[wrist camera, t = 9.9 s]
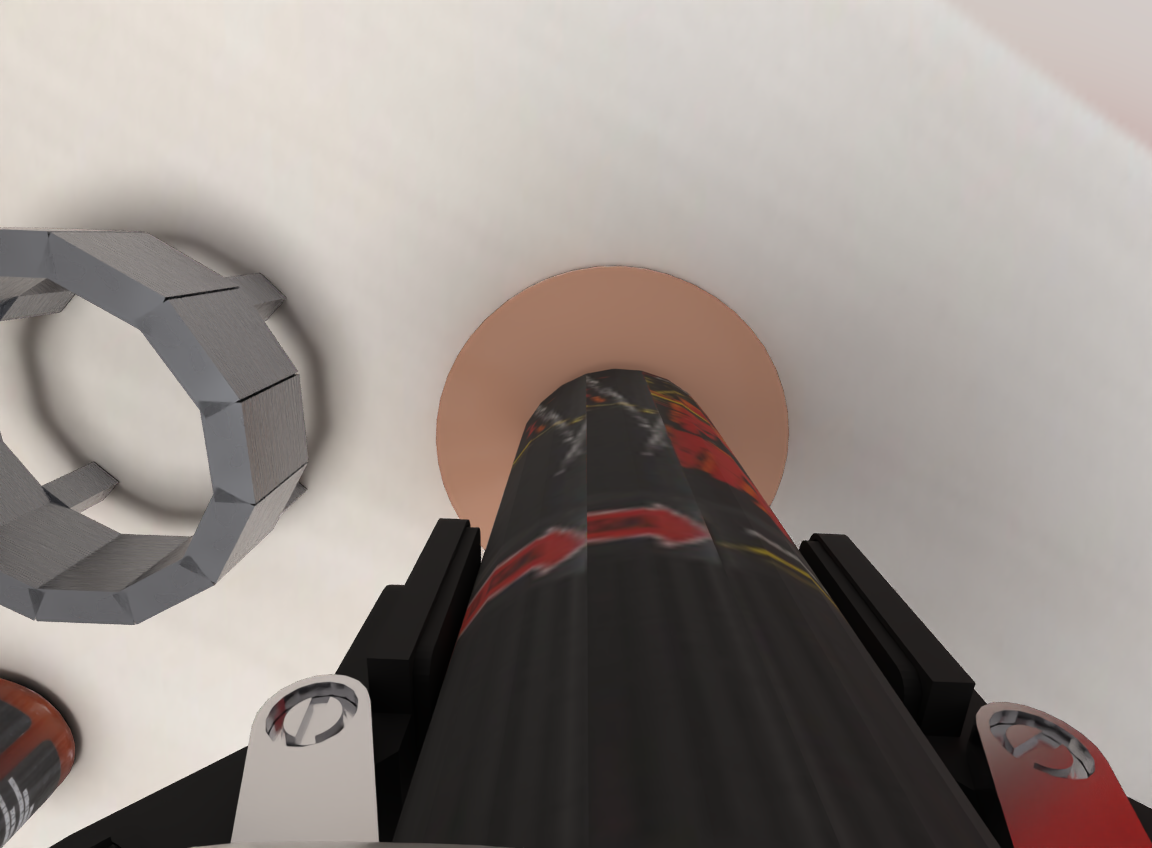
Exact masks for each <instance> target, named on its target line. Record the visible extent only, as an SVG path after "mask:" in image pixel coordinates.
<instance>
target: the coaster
mask: <svg viewBox="0 0 1152 848" xmlns="http://www.w3.org/2000/svg"><path fill="white" fill-rule="evenodd" d="M609 369H627V370H640V371H644V372H647V373H650V374H653V375H656V376H659V377H662V378H665V379H668V380H669V381H671V382H672V383H674V384H675V385H677V386H678V387H680V388H681V389H682V390H684V391H685V392H687V393H688V394H690V395H691V397H692V398H693V399H694V400H695V401H696V402H697V404H698V405H699V406H700V407H701V408H702V410H703V411H704V412H705V413H706V414H707V416H708V417H709V419H710V420H711V422H712V423H713V425H714V426H715V428H716V429H717V431H718V432H719V434H720V435H721V436H722V438H723V439H724V441H725V442H726V444H727V445H728V447H729V448H730V450H731V451H732V453H733V454H734V456H735V457H736V459H737V460H738V461H739V463H740V464H741V466H742V467H743V469H744V470H745V472H746V473H747V475H748V476H749V478H750V479H751V481H752V482H753V484H754V485H755V486H756V488H757V489H758V491H759V492H760V494H761V495H762V497H763V498H764V500H765V501H766V503H767V504H768V506H769V507H770V505H771V503H772V501H773V499H774V497H775V495H776V492H777V489H778V487H779V484H780V481H781V479H782V475H783V471H784V467H785V462H786V458H787V450H788V438H789V427H788V411H787V406H786V401H785V396H784V391H783V388H782V385H781V382H780V379H779V376H778V373H777V371H776V368H775V366H774V364H773V362H772V360H771V358H770V357H769V355H768V353H767V351H766V349H765V347H764V346H763V345H762V343H761V342H760V340H759V339H758V338H757V336H756V335H755V334H754V332H753V331H752V329H751V328H750V327H749V326H748V325H747V324H746V323H745V322H744V321H743V320H742V319H741V318H740V317H739V316H738V315H737V314H736V313H735V312H734V311H733V310H731V309H730V308H729V307H728V306H726V305H725V304H724V303H722V302H721V301H720V300H719V299H717V298H716V297H714V296H713V295H711V294H709V293H707V292H706V291H704V290H702V289H700V288H699V287H697V286H695V285H693V284H691V283H689V282H686V281H684V280H681V279H679V278H676V277H674V276H671V275H669V274H665V273H661V272H657V271H653V270H649V269H645V268H636V267H627V266H597V267H590V268H584V269H578V270H572V271H569V272H566V273H563V274H559V275H556V276H553V277H550V278H547V279H545V280H543V281H541V282H539V283H537V284H534V285H532V286H530V287H528V288H526V289H525V290H523V291H522V292H520V293H519V294H517V295H515V296H514V297H512V298H511V299H509V300H508V301H507V302H505V303H504V304H503V305H502V306H501V307H499V308H498V309H497V310H496V311H495V312H494V313H492V314H491V315H490V316H489V317H488V318H487V319H486V320H485V321H484V322H483V323H482V324H481V325H480V326H479V328H478V329H477V330H476V331H475V332H474V333H473V334H472V335H471V336H470V338H469V339H468V341H467V342H466V344H465V345H464V347H463V348H462V350H461V351H460V353H459V354H458V356H457V358H456V360H455V362H454V364H453V366H452V368H451V370H450V372H449V374H448V376H447V380H446V383H445V386H444V389H443V392H442V395H441V398H440V404H439V410H438V416H437V428H436V446H437V455H438V464H439V468H440V472H441V476H442V480H443V484H444V487H445V489H446V492H447V494H448V497H449V499H450V502H451V504H452V506H453V508H454V509H455V511H456V513H457V515H458V517H459V518H460V519H468V520H469V521H470V525H471V527H479V528H480V532H481V546H482V548H483V549H484V550H485V549H486V546H487V543H488V540H489V537H490V533H491V530H492V527H493V524H494V521H495V518H496V515H497V512H498V509H499V505H500V502H501V499H502V496H503V493H504V490H505V487H506V484H507V480H508V477H509V474H510V471H511V468H512V465H513V462H514V459H515V455H516V452H517V449H518V446H519V443H520V440H521V437H522V434H523V431H524V429H525V426H526V423H527V422H528V421H529V419H530V418H531V416H532V415H533V413H534V412H535V410H536V409H537V408H538V406H539V405H540V403H541V402H542V401H544V400H545V399H546V398H547V397H548V396H549V395H551V394H552V393H553V392H554V391H555V390H557V389H558V388H559V387H560V386H561V385H563V384H565V383H567V382H570V381H572V380H574V379H576V378H578V377H580V376H582V375H584V374H587V373H592V372H598V371H603V370H609Z"/></svg>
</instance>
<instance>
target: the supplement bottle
mask: <svg viewBox="0 0 1152 848" xmlns="http://www.w3.org/2000/svg"><path fill="white" fill-rule="evenodd" d="M74 758H75V742H74V738H73V736H72V733H71V730H70V728H69V727H68V725H67V723H66V722H65V720H64V718H63V717H62V716H61V714H60V712H58V711H57V710H56V708H55V707H54V706H52V705H51V704H50V703H49V701H47V700H46V699H45V698H44V697H43V696H41V695H40V694H38V693H37V692H35V691H33V690H30V689H28V688H26V687H24V686H21V685H19V684H17V683H14V682H11V681H8V680H5V679H2V678H0V848H2V847H3V846H4V844H5V843H6V842H7V841H8V840H9V839H10V838H11V837H12V836H13V835H14V834H15V833H16V832H17V831H18V830H19V829H20V828H21V827H22V825H23V824H24V823H25V822H26V821H27V820H28V819H29V818H30V817H31V816H32V815H33V814H34V813H35V812H36V811H37V809H38V808H39V807H40V806H41V805H42V804H43V803H44V802H45V801H46V800H47V799H48V798H49V797H50V795H51V794H52V793H53V792H54V791H55V789H56V788H57V787H58V786H59V785H60V784H61V783H62V782H63V780H64V779H65V778H66V776H67V775H68V774H69V772H70V770H71V767H72V765H73V763H74Z"/></svg>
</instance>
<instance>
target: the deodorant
mask: <svg viewBox="0 0 1152 848" xmlns="http://www.w3.org/2000/svg"><path fill="white" fill-rule="evenodd" d="M392 843H430V844H458V845H482V846H493V847H506V848H1001V847H1000V846H999V844H998V843H997V841H996V840H995V838H994V837H993V835H992V834H991V832H990V831H989V829H988V828H987V826H986V825H985V824H984V822H983V821H982V819H981V818H980V816H979V815H978V813H977V812H976V810H975V809H974V807H973V806H972V804H971V803H970V801H969V800H968V799H967V797H966V796H965V794H964V793H963V791H962V790H961V788H960V787H959V785H958V784H957V782H956V781H955V779H954V778H953V776H952V775H951V774H950V772H949V771H948V769H947V768H946V766H945V765H944V763H943V762H942V760H941V759H940V757H939V756H938V754H937V753H936V751H935V750H934V748H933V747H932V746H931V744H930V743H929V741H928V740H927V738H926V737H925V735H924V734H923V732H922V731H921V729H920V728H919V726H918V725H917V723H916V722H915V721H914V719H913V718H912V716H911V715H910V713H909V712H908V710H907V709H906V707H905V706H904V704H903V703H902V701H901V700H900V698H899V697H898V695H897V694H896V693H895V691H894V690H893V688H892V687H891V685H890V684H889V682H888V681H887V679H886V678H885V676H884V675H883V673H882V672H881V670H880V669H879V668H878V666H877V665H876V663H875V662H874V660H873V659H872V657H871V656H870V654H869V653H868V651H867V650H866V648H865V647H864V645H863V644H862V643H861V641H860V640H859V638H858V637H857V635H856V634H855V632H854V631H853V629H852V628H851V626H850V625H849V623H848V622H847V620H846V619H845V617H844V616H843V615H842V613H841V612H840V610H839V609H838V607H837V606H836V604H835V603H834V601H833V600H832V598H831V597H830V595H829V594H828V592H827V591H826V590H825V588H824V587H823V585H822V584H821V582H820V581H819V579H818V578H817V576H816V575H815V573H814V572H813V570H812V569H811V567H810V566H809V564H808V563H807V562H806V560H805V559H804V557H803V556H802V554H801V553H800V551H799V550H798V548H797V547H796V545H795V544H794V542H793V541H792V539H791V538H790V537H789V535H788V534H787V532H786V531H785V529H784V528H783V526H782V525H781V523H780V522H779V520H778V519H777V517H776V516H775V514H774V513H773V512H772V510H771V509H770V507H769V506H768V504H767V503H766V501H765V500H764V498H763V497H762V495H761V494H760V492H759V491H758V489H757V488H756V486H755V485H754V484H753V482H752V481H751V479H750V478H749V476H748V475H747V473H746V472H745V470H744V469H743V467H742V466H741V464H740V463H739V461H738V460H737V459H736V457H735V456H734V454H733V453H732V451H731V450H730V448H729V447H728V445H727V444H726V442H725V441H724V439H723V438H722V436H721V435H720V434H719V432H718V431H717V429H716V428H715V426H714V425H713V423H712V422H711V420H710V419H709V417H708V416H707V414H706V413H705V412H704V411H703V410H702V408H701V407H700V406H699V405H698V404H697V402H696V401H695V400H694V399H693V398H692V397H691V395H690V394H688V393H687V392H685V391H684V390H682V389H681V388H680V387H678V386H677V385H675V384H674V383H672V382H671V381H669V380H668V379H665V378H662V377H659V376H656V375H653V374H650V373H647V372H644V371H640V370H627V369H609V370H603V371H598V372H592V373H587V374H584V375H582V376H580V377H578V378H576V379H574V380H572V381H570V382H567V383H565V384H563V385H561V386H560V387H559V388H558V389H557V390H555V391H554V392H553V393H552V394H551V395H549V396H548V397H547V398H546V399H545V400H544V401H542V402H541V403H540V405H539V406H538V408H537V409H536V410H535V412H534V413H533V415H532V416H531V418H530V419H529V421H528V422H527V423H526V426H525V429H524V431H523V434H522V437H521V440H520V443H519V446H518V449H517V452H516V455H515V459H514V462H513V465H512V468H511V471H510V474H509V477H508V480H507V484H506V487H505V490H504V493H503V496H502V499H501V502H500V505H499V509H498V512H497V515H496V518H495V521H494V524H493V527H492V530H491V533H490V537H489V540H488V543H487V546H486V549H485V552H484V555H483V558H482V562H481V565H480V568H479V571H478V574H477V577H476V581H475V584H474V587H473V590H472V593H471V596H470V599H469V602H468V606H467V609H466V612H465V615H464V618H463V621H462V624H461V627H460V631H459V634H458V637H457V640H456V643H455V646H454V649H453V652H452V656H451V659H450V662H449V665H448V668H447V671H446V674H445V677H444V681H443V684H442V687H441V690H440V693H439V696H438V699H437V702H436V706H435V709H434V712H433V715H432V718H431V721H430V724H429V727H428V730H427V733H426V736H425V740H424V743H423V746H422V749H421V752H420V755H419V758H418V761H417V764H416V768H415V771H414V774H413V777H412V780H411V783H410V786H409V789H408V793H407V796H406V799H405V802H404V805H403V808H402V811H401V814H400V818H399V821H398V824H397V827H396V830H395V833H394V836H393V839H392Z"/></svg>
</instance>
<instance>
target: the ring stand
mask: <svg viewBox="0 0 1152 848" xmlns="http://www.w3.org/2000/svg"><path fill="white" fill-rule="evenodd" d="M74 294H76V295H78V296H80V297H82V298H84V299H85V300H87V301H89V302H91V303H93V304H94V305H96V306H98V307H100V308H102V309H103V310H105V311H107V312H109V313H111V314H112V315H114V316H116V317H118V318H120V319H121V320H123V321H125V322H127V323H129V324H130V325H132V326H134V327H136V328H138V329H139V330H141V332H142V333H143V334H144V336H145V337H146V339H147V340H148V341H149V343H150V344H151V345H152V347H153V348H154V349H155V351H156V352H157V353H158V355H159V356H160V357H161V359H162V360H163V361H164V363H165V364H166V365H167V367H168V368H169V369H170V371H171V372H172V373H173V375H174V376H175V377H176V379H177V380H178V381H179V383H180V384H181V385H182V387H183V388H184V389H185V391H186V392H187V394H188V395H189V396H190V398H191V399H192V400H193V402H194V403H195V404H196V406H197V407H198V408H199V410H200V413H201V419H202V425H203V431H204V438H205V444H206V450H207V456H208V462H209V468H210V475H211V481H212V487H213V493H214V494H213V496H212V498H211V500H210V502H209V504H208V507H207V509H206V511H205V513H204V515H203V517H202V519H201V521H200V523H199V525H198V527H197V529H196V532H195V534H194V535H193V536H191V537H186V536H160V535H134V534H120V533H118V532H116V531H114V530H112V529H110V528H108V527H106V526H104V525H102V524H100V523H98V522H96V521H94V520H92V519H90V518H88V517H86V516H84V515H82V514H80V513H81V512H83V511H84V510H86V509H88V508H90V507H92V506H93V505H95V504H97V503H99V502H101V501H102V500H103V499H104V498H105V497H106V496H107V495H108V494H109V493H110V492H111V490H112V489H113V488H114V487H115V486H116V485H117V484H118V483H119V482H118V481H117V480H116V479H114V478H113V477H112V476H111V475H109V474H108V473H107V472H106V471H104V470H103V469H102V468H101V467H99V466H98V465H97V464H96V463H94V462H92V463H90V464H88V465H86V466H84V467H82V468H79V469H77V470H75V471H73V472H71V473H69V474H66V475H64V476H62V477H60V478H58V479H56V480H53V481H51V482H49V483H47V484H45V485H43V486H41V485H40V484H39V483H38V481H37V480H36V479H35V478H34V477H33V476H32V474H31V473H30V472H29V471H28V470H27V469H26V467H25V466H24V465H23V464H22V463H21V462H20V461H19V459H18V458H17V457H16V456H15V455H14V454H13V452H12V451H11V450H10V449H9V448H8V447H7V445H6V444H5V443H4V442H3V440H2V436H1V433H0V605H2V606H4V607H6V608H9V609H11V610H13V611H15V612H17V613H19V614H21V615H24V616H26V617H28V618H30V619H32V620H35V619H36V620H37V621H46V622H72V623H98V624H123V625H135V624H139V623H141V622H143V621H145V620H147V619H149V618H151V617H152V616H154V615H156V614H158V613H160V612H162V611H164V610H166V609H168V608H170V607H172V606H174V605H176V604H178V603H180V602H182V601H184V600H186V599H188V598H190V597H192V596H194V595H196V594H198V593H200V592H202V591H204V590H206V589H208V588H210V587H212V586H214V585H215V584H216V583H217V582H218V581H219V580H220V579H221V578H222V577H223V576H224V575H225V574H226V573H228V572H229V571H230V570H231V569H232V568H233V567H234V566H235V565H236V564H237V563H238V562H239V561H240V560H241V559H242V558H243V557H244V556H245V555H246V554H248V553H249V552H250V551H251V550H252V549H253V548H254V547H255V546H256V545H257V544H258V543H259V542H260V541H261V540H262V539H263V538H264V537H265V536H267V535H268V534H269V533H270V532H271V531H272V530H273V529H274V527H275V525H276V523H277V521H278V519H279V517H280V515H281V514H282V513H284V512H285V511H286V510H287V509H288V508H289V507H290V506H291V505H292V504H293V503H294V502H295V501H296V500H297V499H298V498H299V497H300V496H301V495H302V494H303V493H304V492H305V491H306V490H307V489H306V488H305V487H304V486H303V485H302V484H300V483H299V482H298V481H299V479H300V477H301V475H302V473H303V471H304V469H305V467H306V466H307V464H308V462H307V461H308V450H307V441H306V432H305V422H304V413H303V403H302V394H301V385H300V375H299V374H295V373H297V372H298V370H297V369H296V367H295V366H294V364H293V363H292V361H291V360H290V359H289V357H288V356H287V354H286V353H285V351H284V350H283V348H282V347H281V345H280V344H279V342H278V341H277V339H276V338H275V336H274V335H273V334H272V332H271V331H270V329H269V328H268V326H267V325H266V323H265V322H264V321H265V320H267V319H268V317H269V316H270V315H271V314H272V313H273V312H274V311H275V310H276V309H277V308H278V306H279V305H280V304H281V303H282V302H283V301H284V300H285V299H286V297H285V296H284V295H283V294H282V293H281V292H280V291H279V290H278V289H277V288H275V287H274V286H273V285H272V284H271V283H270V282H269V281H268V280H267V279H266V278H265V277H264V276H263V275H262V274H261V273H257V274H249V275H240V276H232V277H223V276H221V275H219V274H218V273H216V272H214V271H213V270H211V269H209V268H207V267H206V266H204V265H202V264H201V263H199V262H197V261H195V260H194V259H192V258H190V257H189V256H187V255H185V254H183V253H182V252H180V251H178V250H177V249H175V248H173V247H171V246H170V245H168V244H166V243H165V242H163V241H161V240H159V239H158V238H156V237H154V236H153V235H151V234H149V233H145V232H141V231H115V230H89V229H63V228H15V227H0V321H5V320H12V319H19V318H26V317H32V316H39V315H46V314H52V313H59V312H61V311H62V309H63V308H64V307H65V306H66V304H67V303H68V302H69V301H70V299H71V298H72V297H73V296H74Z"/></svg>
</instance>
